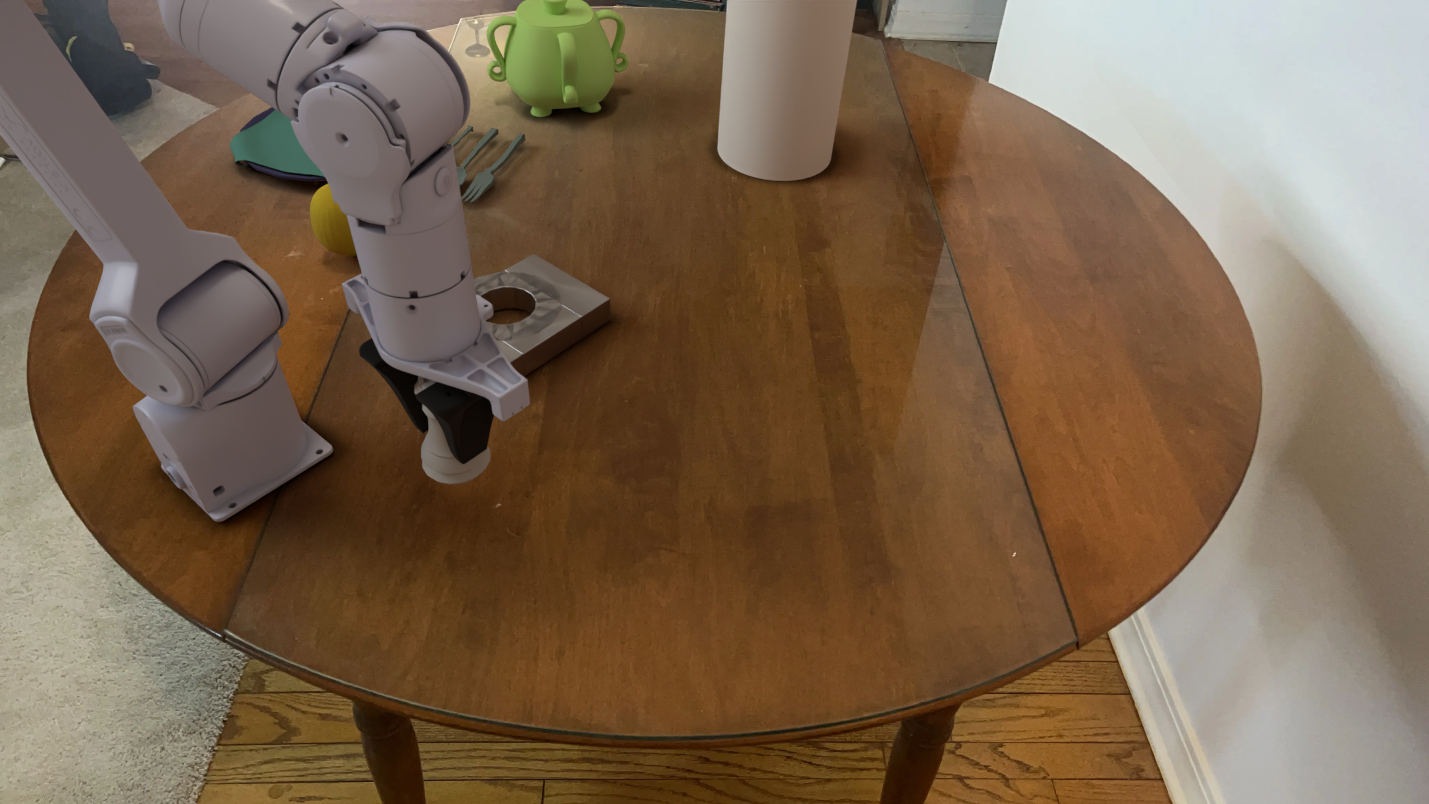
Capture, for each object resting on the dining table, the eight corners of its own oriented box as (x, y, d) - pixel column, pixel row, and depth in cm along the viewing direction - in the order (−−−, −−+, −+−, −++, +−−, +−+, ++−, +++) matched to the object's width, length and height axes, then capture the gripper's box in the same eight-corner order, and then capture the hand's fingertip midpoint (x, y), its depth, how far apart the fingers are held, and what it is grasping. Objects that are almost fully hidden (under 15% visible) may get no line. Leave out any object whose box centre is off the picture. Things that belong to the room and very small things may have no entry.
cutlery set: (309, 95, 110) (304, 77, 108) (538, 139, 106) (536, 121, 104) (200, 174, 96) (193, 154, 95) (459, 228, 92) (456, 209, 90)
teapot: (469, 98, 112) (454, -7, 103) (545, 60, 121) (537, -39, 112) (569, 138, 106) (562, 31, 97) (642, 96, 115) (641, -6, 106)
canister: (827, 187, 102) (856, 6, 88) (708, 171, 103) (719, -10, 89) (834, 131, 111) (862, -40, 97) (726, 117, 112) (738, -54, 98)
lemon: (365, 276, 85) (346, 203, 80) (311, 266, 86) (288, 193, 80) (392, 244, 89) (375, 172, 84) (339, 235, 90) (319, 163, 84)
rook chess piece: (496, 439, 62) (482, 351, 56) (486, 489, 59) (470, 401, 53) (430, 437, 62) (409, 349, 56) (416, 487, 58) (393, 399, 53)
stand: (492, 398, 75) (488, 375, 73) (409, 339, 79) (404, 317, 77) (610, 320, 83) (610, 298, 81) (529, 271, 87) (526, 249, 86)
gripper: (564, 291, 48) (575, 461, 58) (397, 188, 54) (432, 357, 64) (457, 354, 44) (489, 526, 54) (290, 235, 50) (345, 408, 60)
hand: (452, 438), depth 58 cm, fingers closed on rook chess piece, 3 cm apart
